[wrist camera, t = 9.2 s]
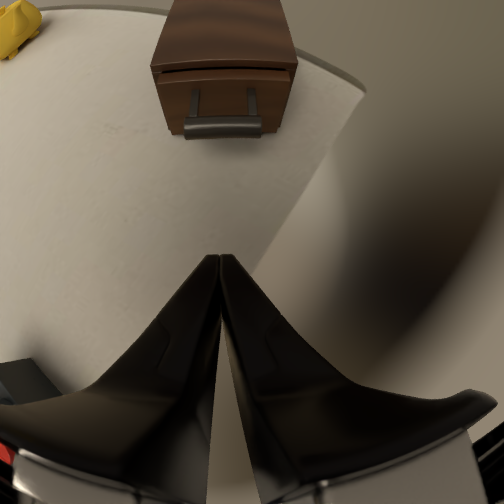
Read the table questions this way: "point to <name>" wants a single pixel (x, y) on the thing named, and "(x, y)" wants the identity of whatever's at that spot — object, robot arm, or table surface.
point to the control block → (24, 383)
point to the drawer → (223, 101)
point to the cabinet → (225, 38)
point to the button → (6, 454)
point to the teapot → (17, 26)
